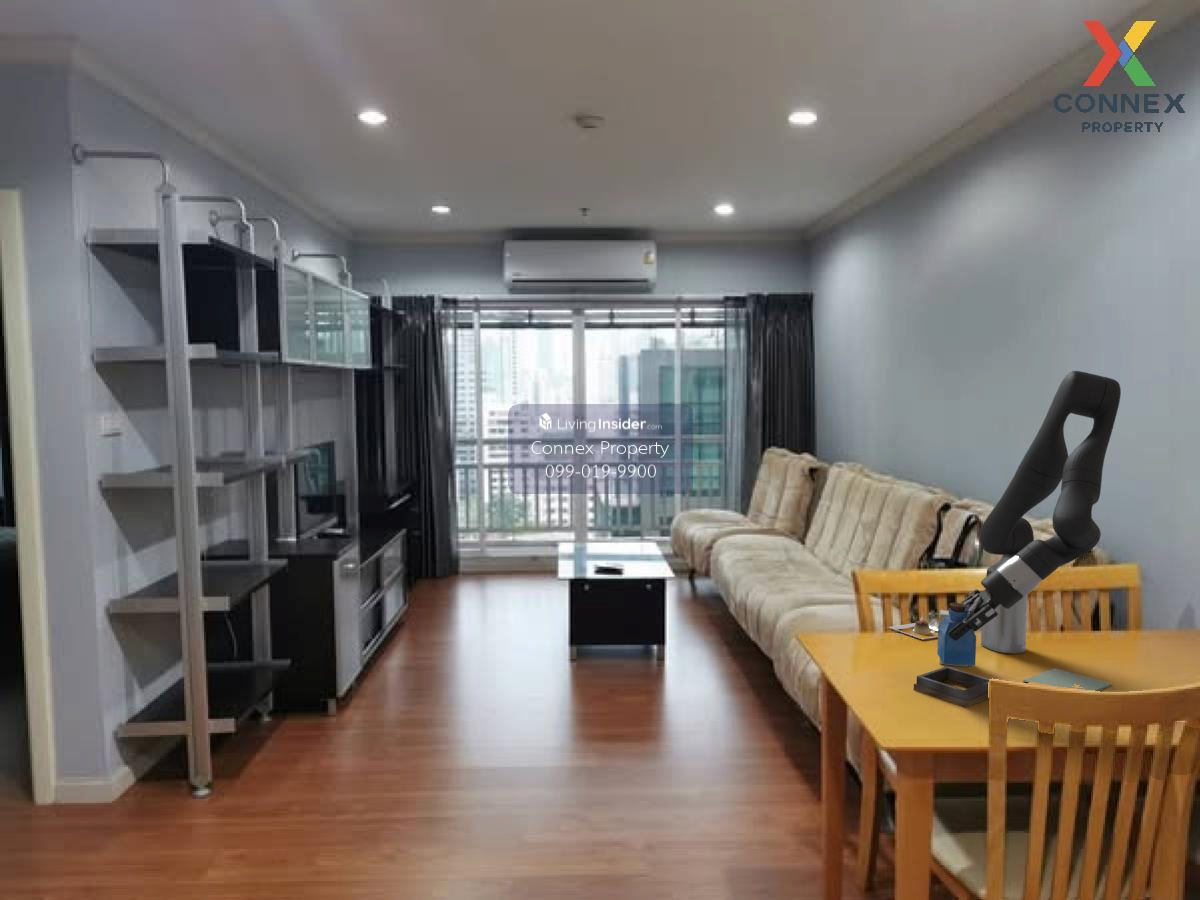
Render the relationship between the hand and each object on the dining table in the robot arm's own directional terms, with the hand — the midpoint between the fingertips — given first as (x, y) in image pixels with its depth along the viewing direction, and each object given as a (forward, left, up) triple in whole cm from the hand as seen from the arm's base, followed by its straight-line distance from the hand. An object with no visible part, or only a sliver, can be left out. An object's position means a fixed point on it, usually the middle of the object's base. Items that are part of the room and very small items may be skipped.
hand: (948, 632), depth 168 cm
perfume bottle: (+1, +1, -6) cm, 6 cm away
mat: (+12, +26, -13) cm, 32 cm away
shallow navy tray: (+1, +1, -13) cm, 13 cm away
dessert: (-29, +34, -14) cm, 47 cm away
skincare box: (-10, +18, -13) cm, 24 cm away
